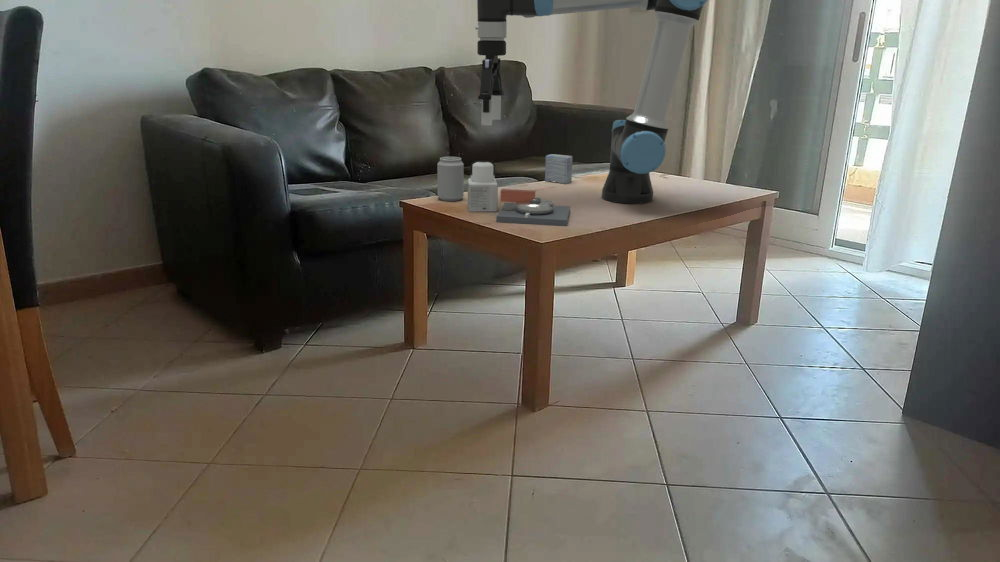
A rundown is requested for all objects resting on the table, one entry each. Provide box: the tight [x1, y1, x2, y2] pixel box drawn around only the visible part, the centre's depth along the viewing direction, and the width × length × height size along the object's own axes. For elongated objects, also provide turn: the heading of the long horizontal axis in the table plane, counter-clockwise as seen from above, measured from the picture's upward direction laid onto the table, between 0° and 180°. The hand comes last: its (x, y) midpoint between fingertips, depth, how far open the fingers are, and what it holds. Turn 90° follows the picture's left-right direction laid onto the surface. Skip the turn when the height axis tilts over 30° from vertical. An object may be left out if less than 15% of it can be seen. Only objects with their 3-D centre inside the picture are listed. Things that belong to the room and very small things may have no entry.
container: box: [467, 160, 499, 213], centre depth 197 cm, size 8×8×13 cm
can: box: [436, 156, 465, 202], centre depth 208 cm, size 8×8×12 cm
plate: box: [495, 202, 571, 227], centre depth 191 cm, size 18×16×2 cm
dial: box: [500, 188, 555, 214], centre depth 190 cm, size 14×10×5 cm
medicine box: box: [544, 153, 573, 185], centre depth 236 cm, size 8×4×9 cm, turn 59°
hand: (491, 122), depth 195 cm, fingers open, 13 cm apart
